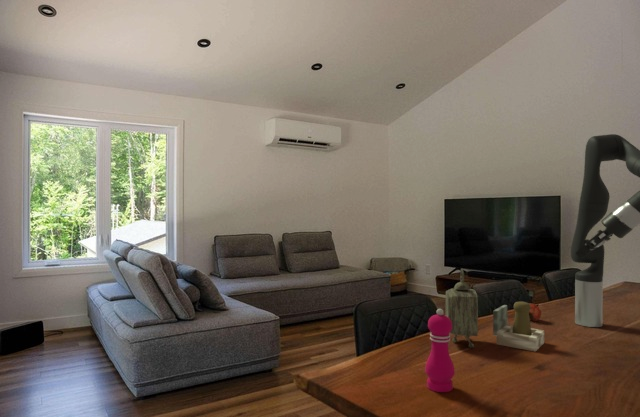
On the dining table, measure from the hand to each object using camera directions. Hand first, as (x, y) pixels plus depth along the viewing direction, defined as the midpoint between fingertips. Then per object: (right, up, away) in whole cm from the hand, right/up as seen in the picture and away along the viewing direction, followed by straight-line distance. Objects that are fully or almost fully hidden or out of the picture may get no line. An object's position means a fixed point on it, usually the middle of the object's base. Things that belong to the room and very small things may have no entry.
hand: (580, 254), depth 144 cm
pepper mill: (-53, -31, -30) cm, 69 cm away
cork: (-16, -28, +6) cm, 33 cm away
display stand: (-16, -31, +7) cm, 35 cm away
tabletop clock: (-36, -31, +7) cm, 48 cm away
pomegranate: (+2, -31, +37) cm, 48 cm away
